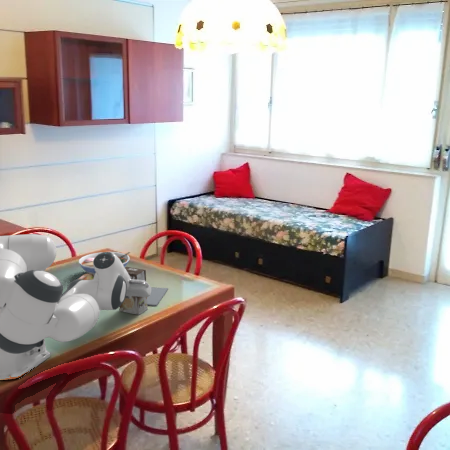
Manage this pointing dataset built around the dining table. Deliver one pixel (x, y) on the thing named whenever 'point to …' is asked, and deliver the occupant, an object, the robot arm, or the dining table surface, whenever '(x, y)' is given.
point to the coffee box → (135, 303)
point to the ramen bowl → (87, 260)
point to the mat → (156, 296)
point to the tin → (87, 277)
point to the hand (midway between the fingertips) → (127, 296)
